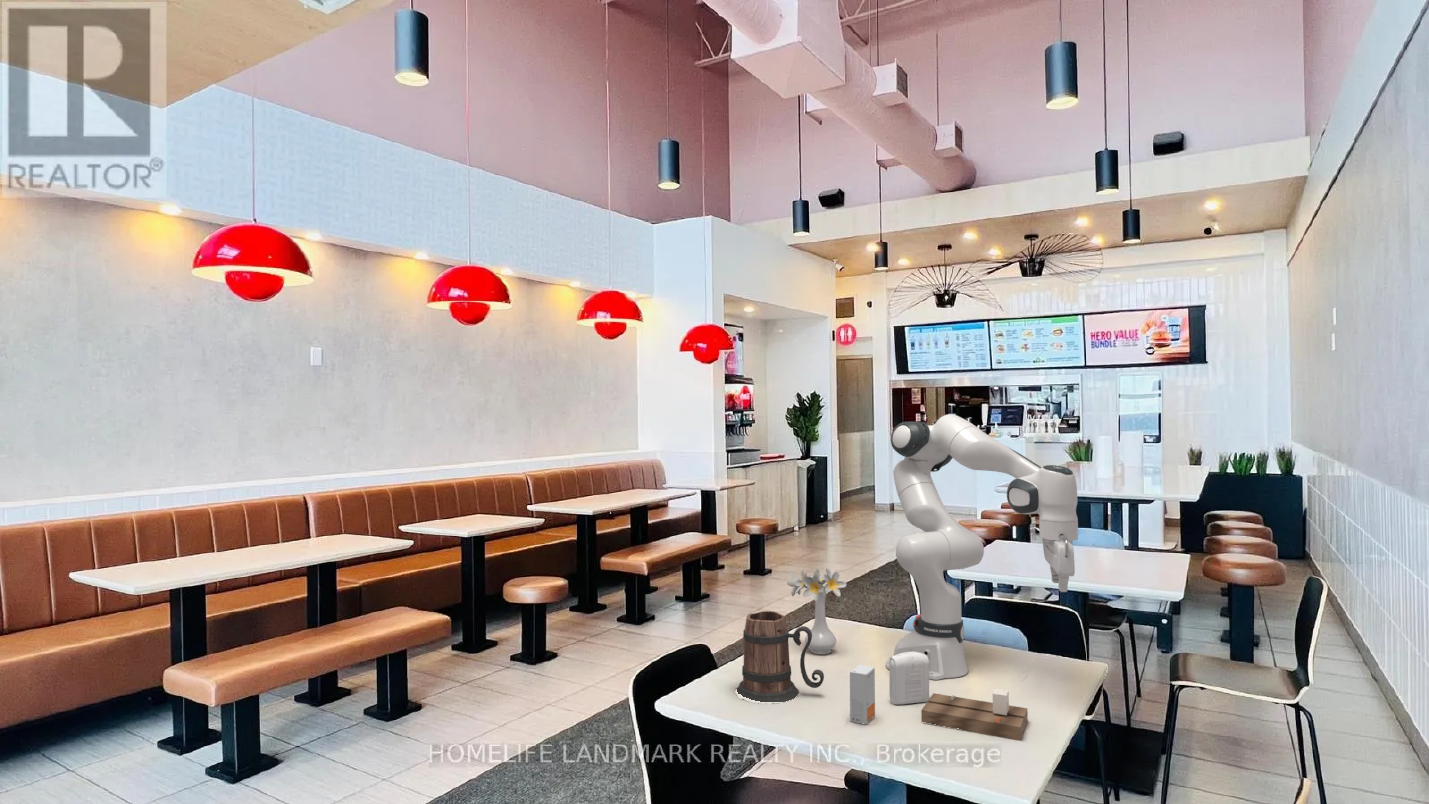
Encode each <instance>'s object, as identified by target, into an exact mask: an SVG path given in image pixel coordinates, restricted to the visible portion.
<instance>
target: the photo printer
mask: <svg viewBox="0 0 1429 804" xmlns="http://www.w3.org/2000/svg"><path fill="white" fill-rule="evenodd" d="M890 657H891V656H890ZM888 670H889V701H890V703H891V704H892V705H908V704H915V703H925V702H926V703H927V702H928V700H929V699H930V679H929V660H928V657H927V655H925V654H922V653H918V652H905V653H900V654H897V655H895V656H893V657H891V658H890V662H889V669H888Z"/></svg>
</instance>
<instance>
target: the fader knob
mask: <svg viewBox="0 0 1429 804" xmlns="http://www.w3.org/2000/svg"><path fill="white" fill-rule="evenodd" d="M1009 697H1010V695H1009V690H1008V689H1007V690H1006V689H1000V688H995V689H994V690H993V692H992V703H993V713H996V714H1000V715H1007V713H1008V711H1009V705H1010V701H1009V700H1010V698H1009Z"/></svg>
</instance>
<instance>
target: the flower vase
mask: <svg viewBox="0 0 1429 804" xmlns="http://www.w3.org/2000/svg"><path fill="white" fill-rule="evenodd" d="M790 576H791V578H792V579H793V580H792V579H788V580H787V581H786V584H787V585H788V587H792V589H791V593H790V595H791V597H795V595H796V594H797V595H801V594H802V596H803V597H809V596H811V595H812V599H813V600H814V621H813V625H812V628H811V629H810V630H811V632H812V640H811V643H810V645H809V647H808V648H809V649H810V652H811V653H812V654H813V655H822V656H823V655H829V654H831V652H832V649H833V648H835V646H836V644H837V639H836V636H835V634H834V633H833V632H832V631H831V630H830V628H829V626H828V624H827V617H826V596H827V593H829V592H831V591H832V592H833V593H834V594H835V595H836V597H838V598H839V597H841V595H842V594H841V590H840V589H843V588H846V587H847V583H846V582H845V581H842V580H839V578H840V573H839V572H838V571H837V570H836V571H834V572H833V573H832V572H831V570H830V569H829V568H828V567H826V569H825V573H823V574H820V569H818V568H817V569H815V570H814V572H813V575H807V572H804V570H801V572H800V578H799V577H797V576H796V575H795V573H794V572H792V571H791V572H790ZM824 585H825V586H824ZM804 588H805V589H804ZM802 589H804V591H803V593H801V590H802ZM807 641H808V635H807V634H806V636H805V640H804V642H805V644H806V643H807Z"/></svg>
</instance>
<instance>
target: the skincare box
mask: <svg viewBox="0 0 1429 804" xmlns="http://www.w3.org/2000/svg"><path fill="white" fill-rule="evenodd" d="M875 671H876V669H875V667H873V666H868V665H864V664H863V665H862V664H858V665H857V666H856V667H854V668H853V669H852V670H850V671H849V719H850V720H849V722H851V721H853V722H852V723H855V722H859V723H858V724H860V723H864V724H866V725H868V723H870V721H872V720H873V719H874V718H875V717H876V677H875V676H876V675H875V673H876V672H875ZM871 719H872V720H871ZM864 724H863V725H864Z"/></svg>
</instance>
